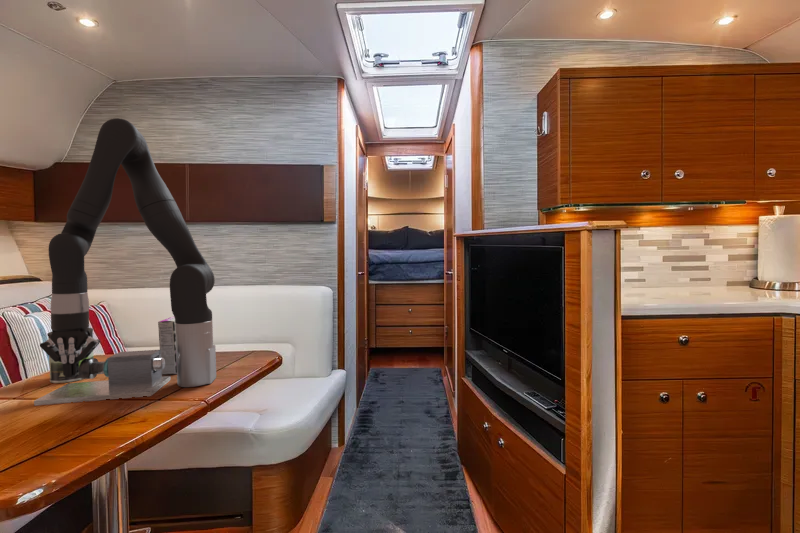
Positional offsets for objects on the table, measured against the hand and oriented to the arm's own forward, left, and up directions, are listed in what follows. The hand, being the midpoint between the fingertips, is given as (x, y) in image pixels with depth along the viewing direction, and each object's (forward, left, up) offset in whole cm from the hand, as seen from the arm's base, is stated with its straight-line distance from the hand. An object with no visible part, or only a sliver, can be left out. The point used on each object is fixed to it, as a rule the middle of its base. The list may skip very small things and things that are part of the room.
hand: (71, 376), depth 100 cm
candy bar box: (-19, -18, -5) cm, 26 cm away
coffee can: (+9, -17, -5) cm, 19 cm away
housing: (-8, 0, -5) cm, 10 cm away
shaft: (-12, 0, -1) cm, 12 cm away
